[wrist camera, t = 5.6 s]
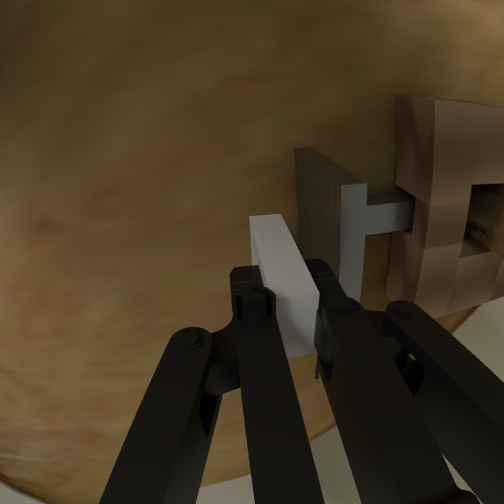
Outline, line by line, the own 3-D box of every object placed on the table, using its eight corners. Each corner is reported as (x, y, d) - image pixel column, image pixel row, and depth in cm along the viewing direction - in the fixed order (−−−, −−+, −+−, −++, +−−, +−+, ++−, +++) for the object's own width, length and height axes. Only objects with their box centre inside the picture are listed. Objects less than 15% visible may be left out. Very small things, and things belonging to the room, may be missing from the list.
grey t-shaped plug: (294, 149, 17) (341, 185, 11) (444, 143, 17) (524, 176, 11) (300, 274, 21) (333, 353, 14) (433, 252, 21) (491, 308, 15)
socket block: (395, 94, 16) (434, 99, 12) (508, 109, 16) (545, 119, 13) (384, 292, 23) (408, 325, 19) (485, 268, 23) (512, 293, 20)
